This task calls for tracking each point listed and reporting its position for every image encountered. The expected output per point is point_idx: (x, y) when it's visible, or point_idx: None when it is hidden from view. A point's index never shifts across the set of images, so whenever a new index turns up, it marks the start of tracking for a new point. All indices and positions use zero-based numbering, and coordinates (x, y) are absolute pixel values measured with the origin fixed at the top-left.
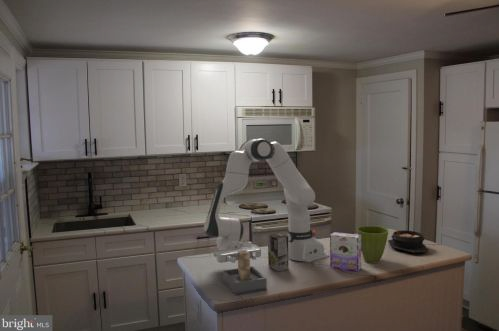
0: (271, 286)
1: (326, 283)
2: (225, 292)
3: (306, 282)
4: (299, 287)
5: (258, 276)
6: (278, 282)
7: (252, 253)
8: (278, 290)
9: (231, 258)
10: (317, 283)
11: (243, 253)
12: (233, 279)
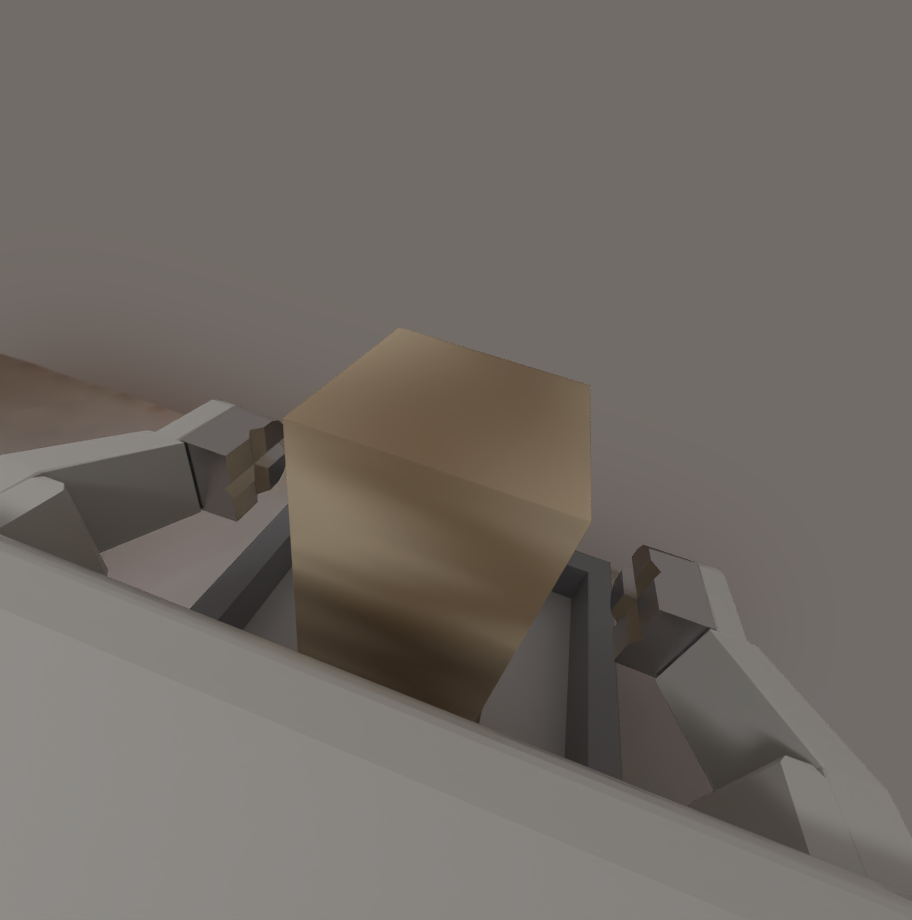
0: (243, 543)
1: (17, 364)
2: (628, 738)
3: (33, 427)
4: (163, 426)
5: (260, 594)
6: (115, 552)
7: (72, 499)
8: (285, 480)
9: (734, 616)
10: (34, 388)
11: (531, 370)
12: (591, 647)
